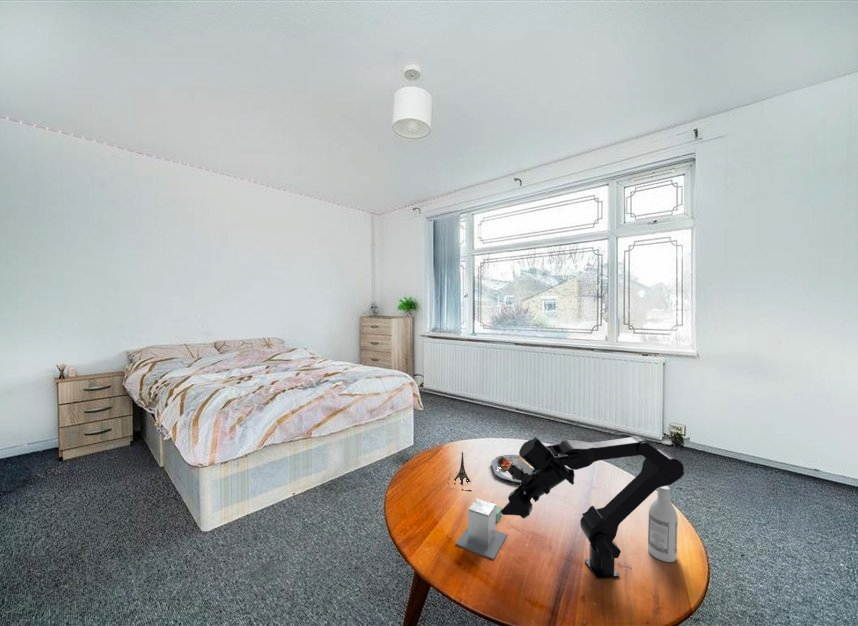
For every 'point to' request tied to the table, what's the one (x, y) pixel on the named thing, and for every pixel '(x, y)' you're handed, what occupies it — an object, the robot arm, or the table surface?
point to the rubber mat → (483, 551)
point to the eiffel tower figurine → (461, 473)
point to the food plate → (505, 465)
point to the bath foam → (663, 527)
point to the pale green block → (498, 513)
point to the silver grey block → (481, 523)
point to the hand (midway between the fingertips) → (507, 504)
